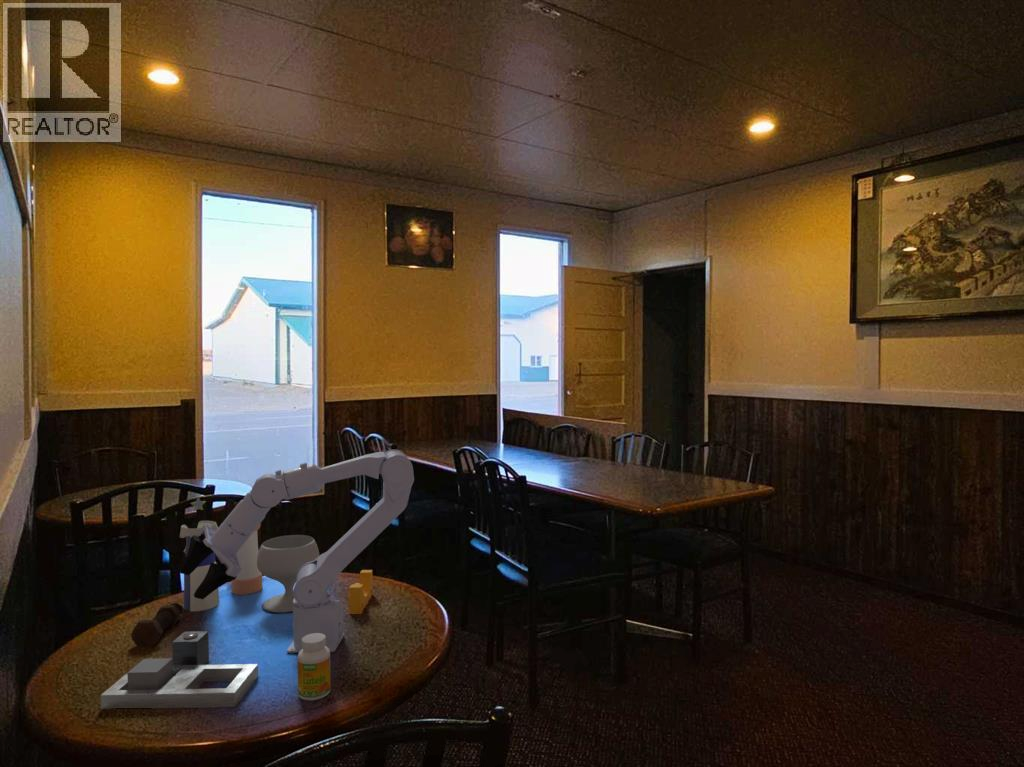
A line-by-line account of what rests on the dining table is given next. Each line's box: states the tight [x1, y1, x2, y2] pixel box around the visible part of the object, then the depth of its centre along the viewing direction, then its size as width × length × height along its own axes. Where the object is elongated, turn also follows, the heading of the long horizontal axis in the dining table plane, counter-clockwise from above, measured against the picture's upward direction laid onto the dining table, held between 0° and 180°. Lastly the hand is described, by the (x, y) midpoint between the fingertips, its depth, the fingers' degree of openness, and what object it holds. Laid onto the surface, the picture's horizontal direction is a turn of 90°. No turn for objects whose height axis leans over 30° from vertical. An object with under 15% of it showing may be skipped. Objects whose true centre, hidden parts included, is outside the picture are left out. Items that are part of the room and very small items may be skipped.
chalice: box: [257, 534, 320, 613], centre depth 149 cm, size 14×14×15 cm
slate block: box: [126, 657, 173, 690], centre depth 109 cm, size 5×5×5 cm
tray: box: [100, 663, 259, 710], centre depth 109 cm, size 22×10×2 cm, turn 91°
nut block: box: [171, 630, 210, 665], centre depth 118 cm, size 4×4×6 cm
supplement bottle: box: [297, 633, 332, 701], centre depth 108 cm, size 5×5×10 cm
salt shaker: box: [230, 522, 263, 596], centre depth 158 cm, size 7×7×19 cm
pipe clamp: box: [347, 569, 374, 614], centre depth 148 cm, size 12×4×6 cm, turn 0°
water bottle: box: [179, 497, 221, 612], centre depth 148 cm, size 8×9×25 cm
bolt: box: [130, 602, 184, 648], centre depth 134 cm, size 6×5×15 cm
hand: (190, 585), depth 121 cm, fingers open, 7 cm apart
